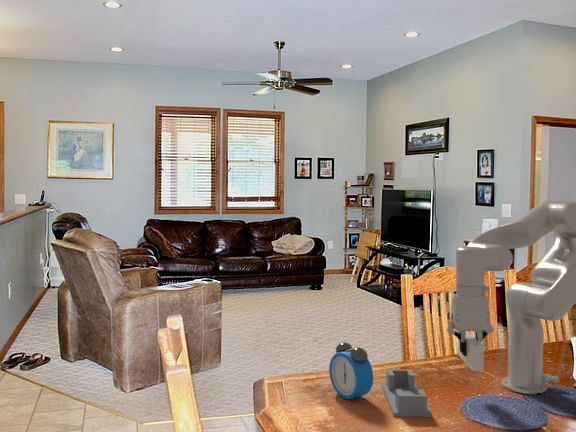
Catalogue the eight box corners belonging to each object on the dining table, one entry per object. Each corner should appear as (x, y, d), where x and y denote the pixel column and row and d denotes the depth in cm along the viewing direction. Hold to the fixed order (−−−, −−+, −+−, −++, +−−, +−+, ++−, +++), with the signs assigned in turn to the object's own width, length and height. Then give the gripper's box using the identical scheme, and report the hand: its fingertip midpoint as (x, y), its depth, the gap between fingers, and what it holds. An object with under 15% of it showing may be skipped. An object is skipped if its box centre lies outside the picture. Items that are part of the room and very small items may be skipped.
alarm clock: (328, 391, 162) (328, 341, 161) (344, 387, 166) (345, 338, 165) (357, 406, 151) (358, 352, 150) (374, 401, 155) (375, 349, 154)
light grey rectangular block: (468, 354, 163) (468, 331, 163) (483, 370, 149) (483, 345, 149) (457, 354, 163) (457, 331, 163) (472, 371, 149) (472, 345, 149)
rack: (415, 387, 165) (415, 369, 165) (431, 416, 145) (432, 396, 144) (382, 387, 166) (382, 369, 165) (393, 416, 145) (393, 396, 145)
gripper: (494, 287, 158) (494, 349, 160) (437, 288, 159) (438, 350, 160) (504, 292, 151) (504, 358, 152) (444, 293, 151) (444, 359, 153)
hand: (470, 353), depth 156 cm, fingers closed on light grey rectangular block, 2 cm apart
